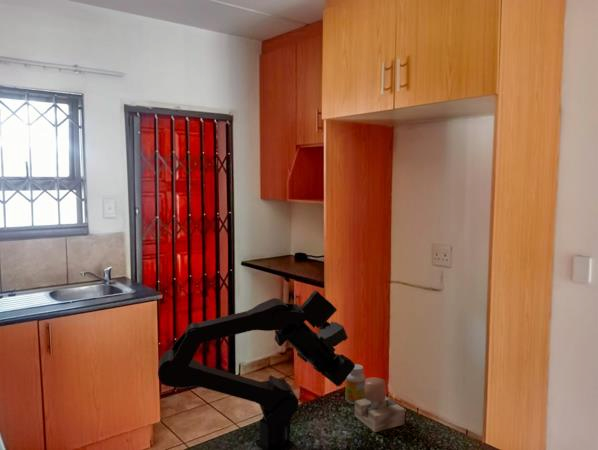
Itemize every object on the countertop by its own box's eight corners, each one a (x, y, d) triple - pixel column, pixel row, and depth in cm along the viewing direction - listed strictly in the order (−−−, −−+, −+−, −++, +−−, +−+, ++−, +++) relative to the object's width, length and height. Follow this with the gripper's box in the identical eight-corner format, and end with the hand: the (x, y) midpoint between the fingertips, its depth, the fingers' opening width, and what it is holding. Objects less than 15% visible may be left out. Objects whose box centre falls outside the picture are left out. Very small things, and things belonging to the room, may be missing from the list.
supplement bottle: (341, 398, 131) (342, 364, 131) (357, 394, 134) (358, 361, 133) (351, 406, 127) (352, 371, 126) (368, 402, 129) (369, 368, 128)
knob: (371, 422, 115) (372, 387, 114) (360, 412, 120) (360, 379, 119) (388, 417, 117) (389, 383, 117) (376, 408, 122) (377, 376, 121)
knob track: (374, 432, 113) (375, 416, 113) (354, 415, 121) (354, 400, 121) (404, 424, 117) (404, 409, 117) (382, 408, 125) (383, 394, 125)
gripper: (348, 324, 101) (388, 366, 107) (308, 304, 118) (344, 341, 124) (315, 365, 99) (358, 405, 104) (280, 339, 115) (318, 375, 121)
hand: (344, 379), depth 113 cm, fingers closed
